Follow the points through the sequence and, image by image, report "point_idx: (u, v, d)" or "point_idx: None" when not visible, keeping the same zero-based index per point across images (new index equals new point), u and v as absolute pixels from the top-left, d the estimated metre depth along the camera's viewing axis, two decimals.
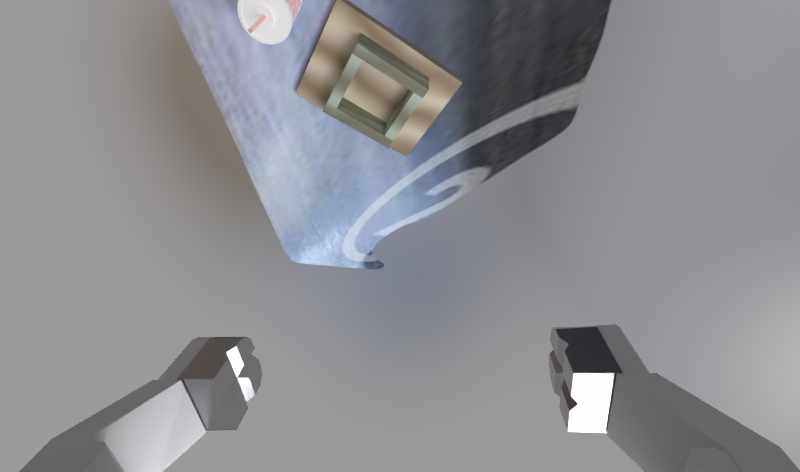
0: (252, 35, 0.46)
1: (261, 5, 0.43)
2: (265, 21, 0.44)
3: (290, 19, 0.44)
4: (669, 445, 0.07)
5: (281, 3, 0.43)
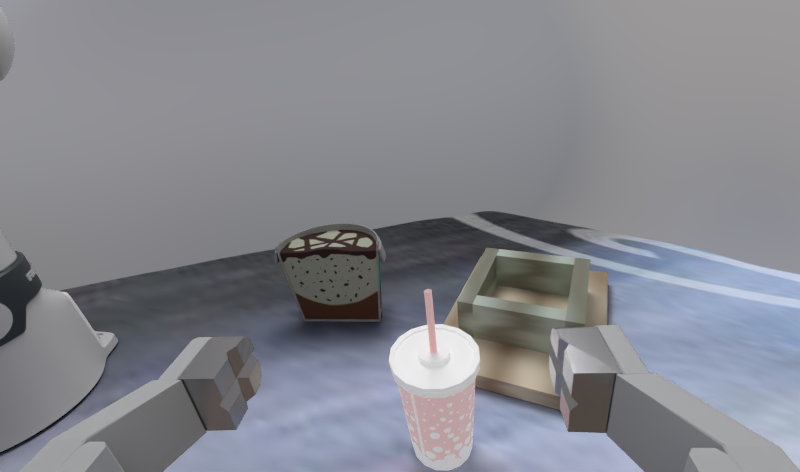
0: (471, 369, 0.24)
1: (417, 356, 0.26)
2: (440, 349, 0.26)
3: None
4: (669, 445, 0.07)
5: (410, 334, 0.28)
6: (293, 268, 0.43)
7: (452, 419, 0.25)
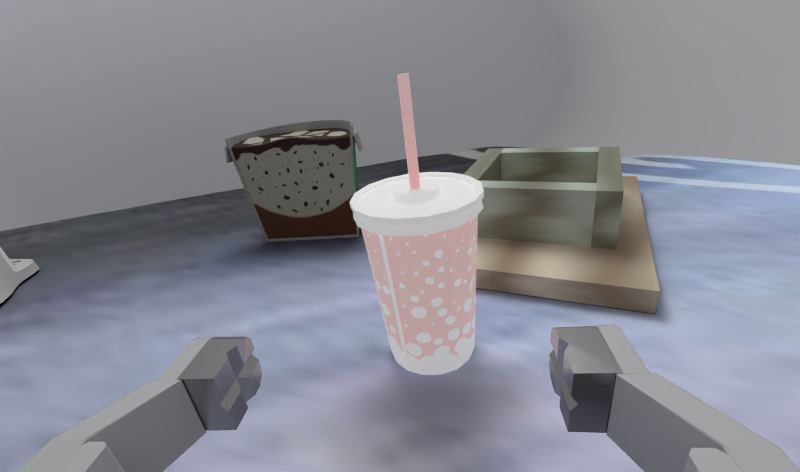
0: (471, 198, 0.16)
1: (392, 195, 0.18)
2: (424, 185, 0.18)
3: None
4: (669, 445, 0.07)
5: (384, 182, 0.20)
6: (249, 168, 0.34)
7: (443, 282, 0.17)
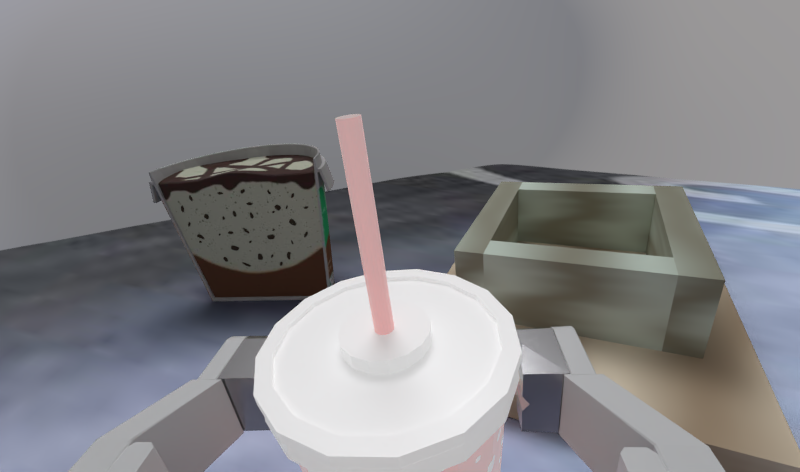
0: (498, 383, 0.07)
1: (339, 343, 0.09)
2: (403, 323, 0.09)
3: None
4: (611, 444, 0.07)
5: (335, 293, 0.11)
6: (183, 210, 0.26)
7: None
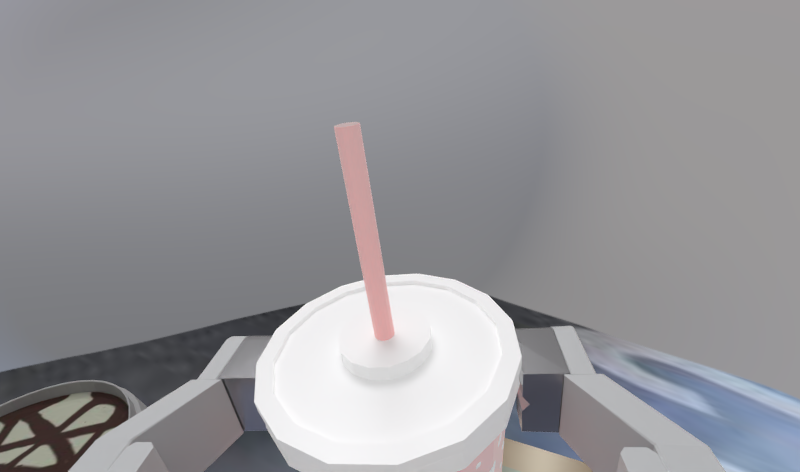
0: (498, 389, 0.07)
1: (340, 349, 0.09)
2: (403, 328, 0.09)
3: None
4: (610, 445, 0.07)
5: (335, 298, 0.11)
6: None
7: None
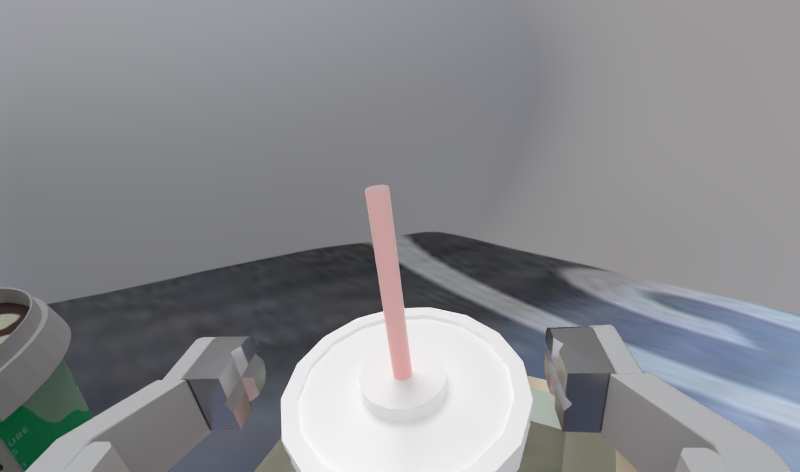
0: (512, 434, 0.08)
1: (360, 387, 0.10)
2: (420, 368, 0.10)
3: None
4: (662, 445, 0.07)
5: (352, 331, 0.12)
6: None
7: None
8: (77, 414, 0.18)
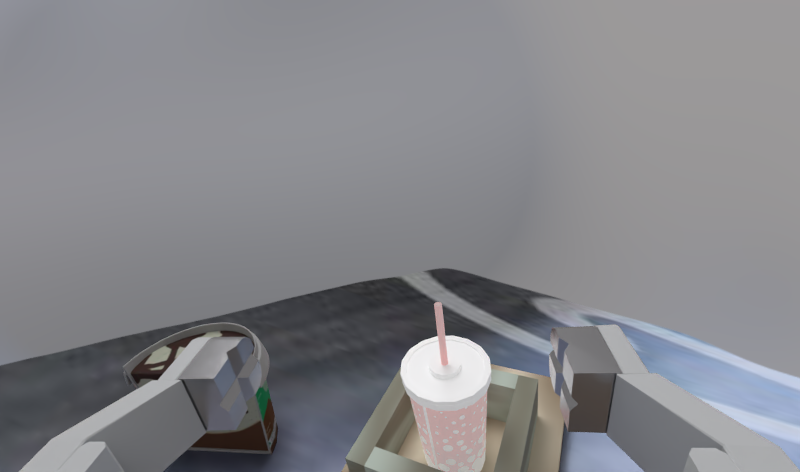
0: (483, 381, 0.24)
1: (429, 368, 0.26)
2: (451, 361, 0.26)
3: None
4: (669, 445, 0.07)
5: (421, 347, 0.28)
6: None
7: (465, 431, 0.25)
8: None
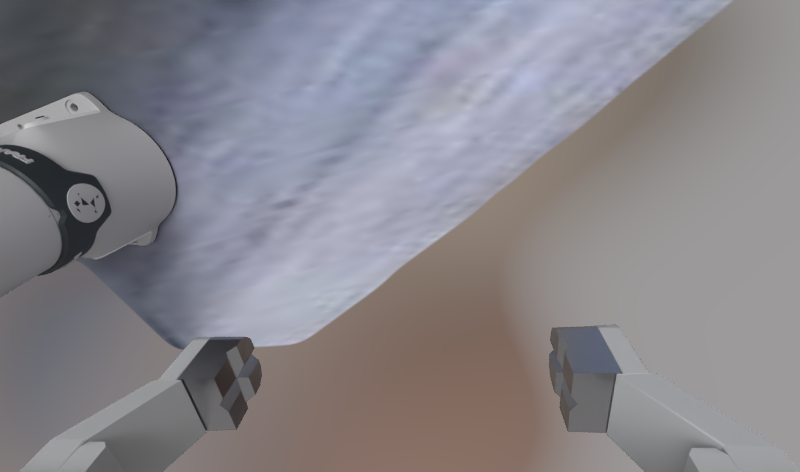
0: None
1: None
2: None
3: None
4: (669, 445, 0.07)
5: None
6: None
7: None
8: None
